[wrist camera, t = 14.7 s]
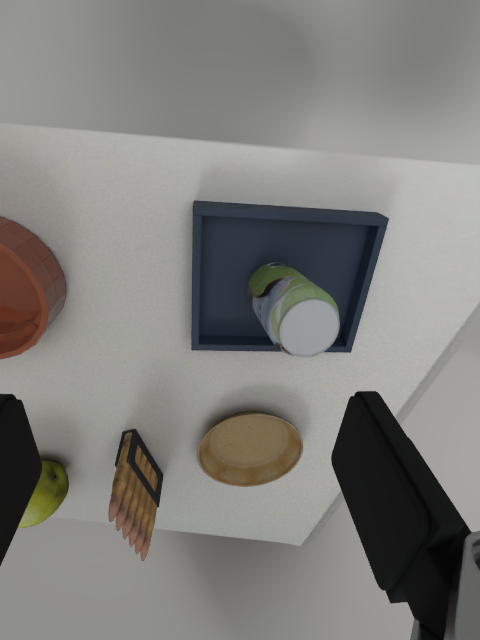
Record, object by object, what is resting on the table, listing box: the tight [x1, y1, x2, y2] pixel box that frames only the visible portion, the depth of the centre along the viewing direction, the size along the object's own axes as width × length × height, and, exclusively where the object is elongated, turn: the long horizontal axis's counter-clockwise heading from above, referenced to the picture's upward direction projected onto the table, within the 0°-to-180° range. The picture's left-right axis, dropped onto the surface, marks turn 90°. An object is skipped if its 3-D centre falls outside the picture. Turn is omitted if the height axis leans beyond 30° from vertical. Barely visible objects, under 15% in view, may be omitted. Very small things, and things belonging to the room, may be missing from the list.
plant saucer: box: [197, 412, 303, 487], centre depth 49 cm, size 15×15×3 cm
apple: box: [18, 460, 69, 528], centre depth 45 cm, size 8×9×8 cm
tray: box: [191, 201, 389, 352], centre depth 37 cm, size 16×19×3 cm
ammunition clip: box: [109, 429, 163, 561], centre depth 44 cm, size 11×2×12 cm, turn 15°
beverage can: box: [247, 262, 340, 357], centre depth 32 cm, size 6×7×12 cm
